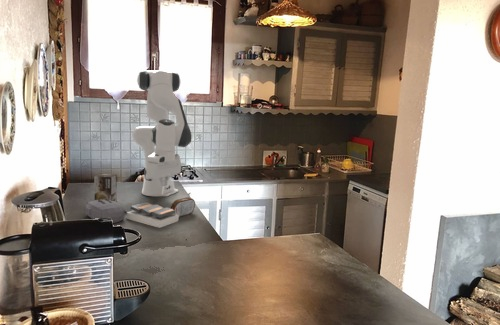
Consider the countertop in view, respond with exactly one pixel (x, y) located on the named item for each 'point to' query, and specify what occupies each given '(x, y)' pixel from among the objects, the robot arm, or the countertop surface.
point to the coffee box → (105, 187)
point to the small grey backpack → (105, 210)
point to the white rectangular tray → (151, 218)
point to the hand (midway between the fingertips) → (164, 185)
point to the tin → (183, 206)
